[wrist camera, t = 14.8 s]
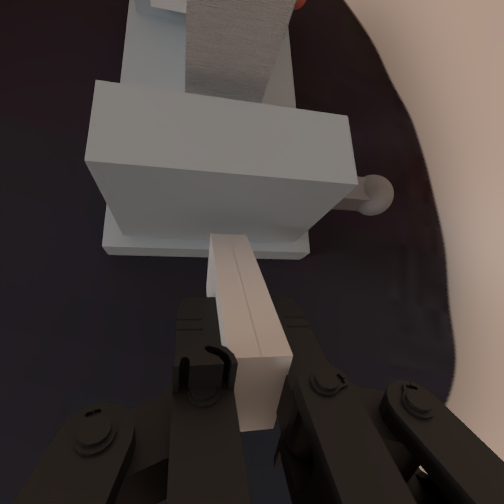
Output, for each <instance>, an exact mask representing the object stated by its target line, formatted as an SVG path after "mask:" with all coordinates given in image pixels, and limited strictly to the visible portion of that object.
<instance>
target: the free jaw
mask: <svg viewBox="0 0 504 504" xmlns="http://www.w3.org/2000/svg"><path fill="white" fill-rule="evenodd" d="M85 162H86V164H87V166H88V168H89V170H90V172H91V174H92V176H93V178H94V180H95V182H96V184H97V186H98V188H99V189H100V191H101V193H102V195H103V197H104V199H105V201H106V203H107V205H108V207H109V209H110V211H111V213H112V214H113V216H114V218H115V220H116V222H117V224H118V226H119V228H120V230H121V232H122V234H123V236H148V237H174V238H200V239H210V234H211V233H213V234H233V235H247V238H248V240H252V241H278V242H295V241H297V240H298V239H299V238H300V237H301V236H302V235H303V234H304V233H305V232H306V231H308V230H309V229H310V228H311V227H312V226H313V225H314V224H315V223H316V222H318V221H319V220H320V219H321V218H322V217H323V216H324V215H325V214H326V213H327V212H329V211H330V210H331V209H338V210H353V211H358V212H360V213H361V214H364V215H370V216H372V215H377V214H380V213H382V212H384V211H385V210H386V209H387V208H388V207H389V206H390V205H391V203H392V201H393V197H394V191H393V187H392V185H391V183H390V182H389V181H388V180H387V179H386V178H384V177H382V176H379V175H368V176H365V177H357V173H356V167H355V160H354V154H353V147H352V141H351V134H350V128H349V122H348V116H345V115H338V114H331V113H324V112H317V111H310V110H303V109H296V108H289V107H282V106H275V105H268V104H261V103H254V102H247V101H240V100H233V99H226V98H219V97H212V96H205V95H198V94H191V93H184V92H177V91H170V90H163V89H156V88H149V87H142V86H135V85H128V84H121V83H114V82H107V81H100V80H96V83H95V90H94V97H93V104H92V111H91V118H90V125H89V132H88V139H87V147H86V154H85Z"/></svg>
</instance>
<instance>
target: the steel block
mask: <svg viewBox="0 0 504 504" xmlns="http://www.w3.org/2000/svg"><path fill="white" fill-rule="evenodd" d="M295 1H296V0H186V58H185V93H191V94H198V95H205V96H212V97H219V98H226V99H233V100H240V101H247V102H254V103H262V100H263V97H264V94H265V91H266V88H267V85H268V82H269V79H270V76H271V73H272V70H273V67H274V64H275V61H276V58H277V55H278V52H279V49H280V46H281V43H282V40H283V37H284V34H285V31H286V28H287V25H288V22H289V19H290V16H291V13H292V10H293V7H294V4H295Z"/></svg>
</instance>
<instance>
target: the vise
mask: <svg viewBox="0 0 504 504" xmlns="http://www.w3.org/2000/svg"><path fill="white" fill-rule="evenodd" d="M305 2H306V0H296V1H295V4H294V7H293V10H297V9H299V8H301V7H302V6H303V5H304V3H305ZM293 10H292V12H293ZM291 15H292V13H291ZM290 18H291V16H290ZM289 21H290V19H289ZM288 24H289V22H288ZM185 58H186V0H129V9H128V17H127V26H126V35H125V44H124V53H123V62H122V71H121V80H120V83H121V84H128V85H135V86H142V87H149V88H156V89H163V90H170V91H177V92H184V93H185ZM261 104H268V105H275V106H282V107H289V108H296V103H295V92H294V82H293V72H292V61H291V51H290V41H289V30H288V25H287V28H286V31H285V34H284V37H283V40H282V43H281V46H280V49H279V52H278V55H277V58H276V61H275V64H274V67H273V70H272V73H271V76H270V79H269V82H268V85H267V88H266V91H265V94H264V97H263V100H262V103H261ZM249 243H250V245H251V248H252V251H253V253H254V256H255V258H256V259H295V260H301V259H302V258H303V257H305V256H306V255H307V254H309V253H310V247H309V237H308V231H306V232H305V233H304V234H303V235H302V236H301V237H300V238H299V239H298V240H297V241H295V242H278V241H252V240H249ZM102 247H103V248H104V250H105V251H106V252H107V253H108V255H134V256H175V257H209V247H210V239H200V238H174V237H148V236H123V234H122V232H121V230H120V228H119V226H118V224H117V222H116V220H115V218H114V216H113V214H112V213H111V211H110V209H109V207H108V205H107V206H106V215H105V224H104V233H103V241H102Z"/></svg>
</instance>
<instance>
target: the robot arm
mask: <svg viewBox="0 0 504 504" xmlns="http://www.w3.org/2000/svg"><path fill="white" fill-rule="evenodd" d="M206 292H207V297H184V299H183V300H182V302H181V303H180V304H179V306H178V307H177V325H176V343H175V361H174V364H173V378H172V380H171V382H170V384H169V386H168V387H167V388H166V389H165V391H164V392H163V393H162V394H160V395H159V396H158V397H156V398H155V399H153V400H151V401H149V402H147V403H144V404H142V405H139V406H136V407H133V408H131V409H128V410H127V409H126V408H125V407H124V406H122V405H120V404H117V403H114V402H100V403H96V404H93V405H90V406H87V407H84V408H83V409H81V410H80V411H78V412H77V413H75V414H74V415H72V416H71V417H70V418H69V419H68V420H67V421H66V422H65V424H64V425H63V426H62V427H61V428H60V429H59V431H58V432H57V434H56V435H55V437H54V439H53V440H52V442H51V443H50V445H49V446H48V448H47V450H46V451H45V453H44V454H43V456H42V457H41V459H40V460H39V462H38V464H37V465H36V467H35V468H34V470H33V471H32V473H31V475H30V476H29V478H28V479H27V481H26V482H25V484H24V485H23V487H22V489H21V490H20V492H19V493H18V495H17V496H16V498H15V500H14V501H13V503H12V504H158V503H160V502H162V501H163V500H165V499H167V501H166V504H251V500H250V494H249V487H248V480H247V474H246V467H245V461H244V454H243V447H242V441H241V434H240V432H242V431H252V430H262V429H273V428H274V424H275V421H276V417H277V418H278V421H279V425H280V429H281V436H280V439H279V443H278V446H277V449H276V453H275V456H274V468H278V467H279V464H280V461H281V460H282V464H283V468H284V472H285V476H286V481H287V485H288V489H289V493H290V497H291V501H292V504H504V462H503V461H502V460H501V459H500V458H499V457H498V456H497V455H496V454H495V453H494V452H493V451H492V450H491V449H490V448H489V447H488V446H487V445H486V444H485V443H484V442H482V441H481V440H480V439H479V438H478V437H477V436H476V435H475V434H474V433H473V432H472V431H471V430H470V429H469V428H468V427H467V426H466V425H465V424H464V423H463V422H462V421H461V420H459V419H458V418H457V417H456V416H455V415H454V414H453V413H452V412H451V411H450V410H449V409H448V408H447V407H446V406H445V405H444V404H443V403H442V402H441V401H440V400H439V399H438V398H436V397H435V396H434V395H433V394H432V393H430V392H429V391H428V390H427V389H425V388H424V387H422V386H420V385H418V384H416V383H413V382H409V381H405V380H399V381H394V382H392V383H391V384H390V385H388V387H387V389H386V391H385V392H383V391H378V390H374V389H370V388H365V387H361V386H358V385H355V384H352V383H351V382H350V380H349V379H348V378H347V376H346V375H345V374H344V373H343V372H342V371H340V370H339V369H338V368H336V367H335V366H332V365H330V364H328V362H327V360H326V358H325V356H324V354H323V352H322V350H321V348H320V346H319V344H318V342H317V340H316V338H315V336H314V334H313V333H312V331H311V329H310V328H309V325H308V323H307V321H306V319H305V318H304V315H303V313H302V311H301V309H300V307H299V305H298V304H297V303H296V302H294V301H293V300H292V299H291V298H290V297H289V296H270V295H269V292H268V289H267V287H266V284H265V282H264V279H263V276H262V274H261V271H260V269H259V266H258V264H257V261H256V258H255V256H254V253H253V251H252V248H251V245H250V243H249V240H248V238H247V235H233V234H213V233H211V234H210V247H209V260H208V272H207V285H206ZM420 465H421V466H422V468H423V469H424V470H425V471H426V472H427V474H426V473H424V472H423V471H421V470H420V469H419V466H420Z"/></svg>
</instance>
